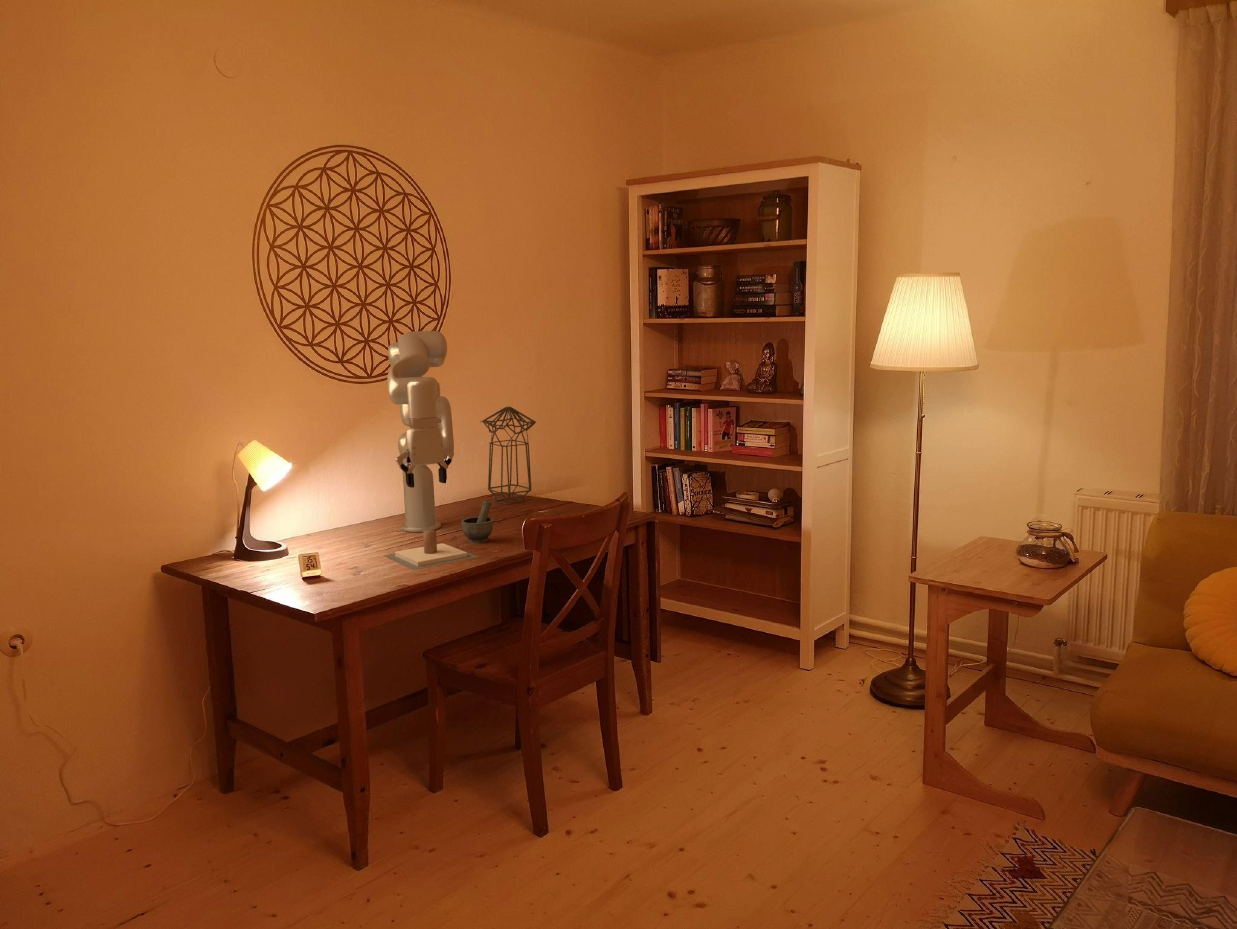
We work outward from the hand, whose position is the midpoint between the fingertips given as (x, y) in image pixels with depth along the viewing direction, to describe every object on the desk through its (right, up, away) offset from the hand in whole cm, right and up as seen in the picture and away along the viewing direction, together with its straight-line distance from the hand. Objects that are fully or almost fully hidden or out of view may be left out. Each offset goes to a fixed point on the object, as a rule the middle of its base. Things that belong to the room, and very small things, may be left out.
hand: (426, 484), depth 268 cm
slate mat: (0, -21, +4) cm, 21 cm away
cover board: (0, -20, +4) cm, 21 cm away
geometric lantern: (+15, -8, +82) cm, 84 cm away
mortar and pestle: (+12, -18, +22) cm, 31 cm away
